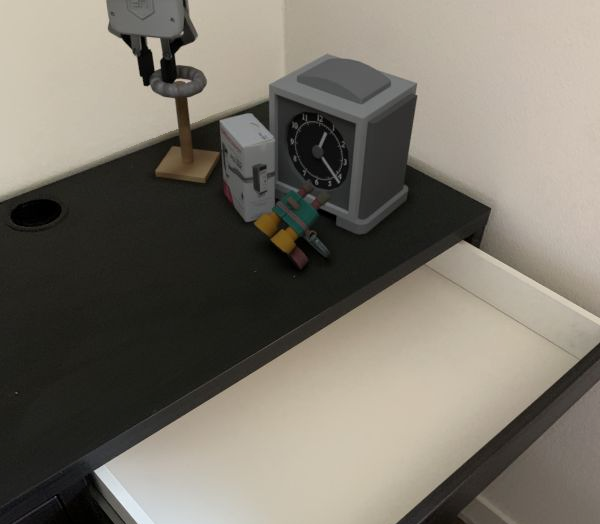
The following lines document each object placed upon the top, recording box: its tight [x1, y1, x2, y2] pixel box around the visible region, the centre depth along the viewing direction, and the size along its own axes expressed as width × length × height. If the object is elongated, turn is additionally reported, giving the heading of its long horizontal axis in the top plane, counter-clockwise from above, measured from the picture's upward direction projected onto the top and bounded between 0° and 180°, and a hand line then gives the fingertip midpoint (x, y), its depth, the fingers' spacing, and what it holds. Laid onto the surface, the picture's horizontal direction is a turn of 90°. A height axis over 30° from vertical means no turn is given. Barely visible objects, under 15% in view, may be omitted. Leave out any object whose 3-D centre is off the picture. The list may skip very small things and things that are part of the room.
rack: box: [154, 80, 221, 184], centre depth 100 cm, size 8×8×13 cm
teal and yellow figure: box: [253, 179, 331, 270], centre depth 87 cm, size 9×9×10 cm
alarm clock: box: [268, 53, 418, 235], centre depth 94 cm, size 18×13×18 cm
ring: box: [149, 64, 208, 99], centre depth 95 cm, size 8×8×2 cm
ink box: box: [219, 112, 276, 223], centre depth 94 cm, size 9×5×12 cm, turn 27°
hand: (159, 82), depth 95 cm, fingers closed on ring, 2 cm apart
